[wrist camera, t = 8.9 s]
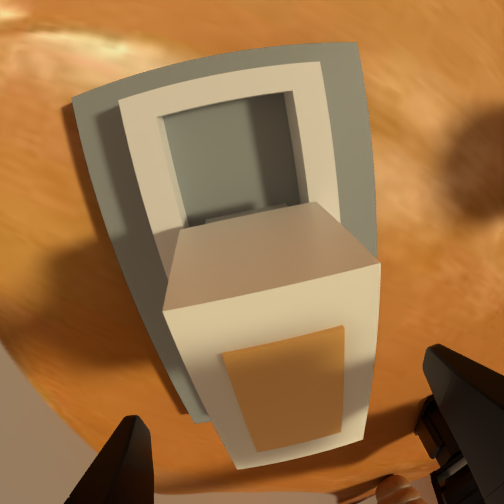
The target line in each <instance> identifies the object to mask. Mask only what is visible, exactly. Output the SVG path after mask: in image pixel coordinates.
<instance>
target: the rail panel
mask: <svg viewBox="0 0 504 504" xmlns="http://www.w3.org/2000/svg"><path fill="white" fill-rule="evenodd" d="M71 99H72V104H73V108H74V113H75V118H76V122H77V127H78V131H79V135H80V140H81V144H82V148H83V152H84V155H85V159H86V163H87V167H88V170H89V174H90V177H91V181H92V184H93V188H94V191H95V194H96V198H97V201H98V204H99V207H100V210H101V214H102V217H103V220H104V223H105V226H106V229H107V231H108V234H109V237H110V240H111V243H112V246H113V248H114V251H115V254H116V257H117V259H118V262H119V265H120V267H121V270H122V272H123V275H124V278H125V280H126V283H127V285H128V288H129V290H130V293H131V295H132V297H133V300H134V302H135V304H136V307H137V309H138V311H139V314H140V316H141V318H142V321H143V323H144V325H145V327H146V330H147V332H148V334H149V336H150V338H151V340H152V343H153V345H154V347H155V349H156V351H157V353H158V355H159V357H160V359H161V361H162V363H163V365H164V367H165V369H166V371H167V373H168V375H169V377H170V379H171V381H172V383H173V385H174V387H175V389H176V391H177V393H178V394H179V396H180V398H181V400H182V402H183V404H184V405H185V407H186V409H187V411H188V413H189V414H190V416H191V418H192V420H193V421H194V423H203V422H210V421H211V419H210V417H209V415H208V413H207V411H206V409H205V407H204V405H203V403H202V401H201V399H200V397H199V395H198V393H197V390H196V388H195V386H194V384H193V382H192V380H191V378H190V375H189V373H188V371H187V369H186V367H185V364H184V362H183V360H182V357H181V355H180V353H179V351H178V348H177V346H176V344H175V341H174V339H173V336H172V334H171V332H170V329H169V327H168V324H167V322H166V319H165V317H164V314H163V312H162V311H163V306H164V301H165V296H166V291H167V286H168V281H169V276H170V272H171V267H172V262H173V258H174V253H175V249H176V245H177V240H178V236H179V232H180V230H181V229H186V228H190V227H195V226H199V225H204V224H205V222H206V219H211V218H215V217H220V216H224V215H229V214H234V213H238V212H243V211H248V210H253V209H258V208H263V207H268V206H272V205H277V204H283V203H286V205H287V206H288V207H289V206H295V205H300V204H305V203H310V202H315V201H317V202H318V203H319V204H320V205H321V206H322V207H323V208H324V209H325V210H326V211H327V212H329V213H330V214H331V215H332V216H333V217H334V218H335V219H336V220H337V221H338V222H339V223H340V224H341V225H342V226H344V227H345V228H346V229H347V230H348V231H349V232H350V233H351V234H352V235H353V236H354V237H355V238H356V239H357V240H358V241H359V242H360V243H361V244H362V245H363V246H364V247H365V248H366V249H367V250H368V251H369V252H370V253H371V254H372V255H373V256H374V257H375V258H376V259H377V222H376V195H375V177H374V163H373V151H372V140H371V131H370V122H369V113H368V106H367V98H366V91H365V85H364V78H363V72H362V66H361V60H360V55H359V50H358V45H357V42H337V43H310V44H295V45H284V46H274V47H265V48H257V49H250V50H243V51H236V52H230V53H224V54H219V55H213V56H208V57H203V58H199V59H194V60H189V61H185V62H181V63H177V64H173V65H169V66H165V67H161V68H157V69H154V70H150V71H147V72H143V73H140V74H137V75H133V76H130V77H127V78H124V79H121V80H118V81H115V82H112V83H109V84H106V85H103V86H101V87H98V88H95V89H93V90H90V91H87V92H85V93H82V94H80V95H77V96H75V97H72V98H71Z"/></svg>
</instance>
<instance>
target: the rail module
mask: <svg viewBox="0 0 504 504" xmlns="http://www.w3.org/2000/svg"><path fill="white" fill-rule="evenodd" d="M380 274H381V263H380V262H379V261H378V260H377V259H376V258H375V257H374V256H373V255H372V254H371V253H370V252H369V251H368V250H367V249H366V248H365V247H364V246H363V245H362V244H361V243H360V242H359V241H358V240H357V239H356V238H355V237H354V236H353V235H352V234H351V233H350V232H349V231H348V230H347V229H346V228H345V227H344V226H342V225H341V224H340V223H339V222H338V221H337V220H336V219H335V218H334V217H333V216H332V215H331V214H330V213H329V212H327V211H326V210H325V209H324V208H323V207H322V206H321V205H320V204H319V203H318V202H317V201H315V202H310V203H305V204H300V205H295V206H289V207H288V206H287V205H286V203H283V204H277V205H272V206H268V207H263V208H258V209H253V210H248V211H243V212H238V213H234V214H229V215H224V216H220V217H215V218H211V219H206V222H205V224H204V225H199V226H195V227H190V228H186V229H181V230H180V232H179V236H178V240H177V245H176V249H175V253H174V258H173V262H172V267H171V272H170V276H169V281H168V286H167V291H166V296H165V301H164V306H163V311H162V312H163V314H164V317H165V319H166V322H167V324H168V327H169V329H170V332H171V334H172V336H173V339H174V341H175V344H176V346H177V348H178V351H179V353H180V355H181V357H182V360H183V362H184V364H185V367H186V369H187V371H188V373H189V375H190V378H191V380H192V382H193V384H194V386H195V388H196V390H197V393H198V395H199V397H200V399H201V401H202V403H203V405H204V407H205V409H206V411H207V413H208V415H209V417H210V419H211V421H212V423H213V425H214V427H215V429H216V431H217V433H218V435H219V437H220V439H221V441H222V442H223V444H224V446H225V448H226V450H227V452H228V454H229V455H230V457H231V459H232V461H233V463H234V464H235V466H236V468H237V470H239V469H245V468H252V467H257V466H263V465H268V464H273V463H278V462H283V461H288V460H292V459H296V458H301V457H305V456H309V455H313V454H316V453H320V452H324V451H327V450H331V449H334V448H338V447H341V446H344V445H348V444H351V443H354V442H357V441H360V440H363V436H364V430H365V425H366V419H367V413H368V406H369V400H370V393H371V386H372V378H373V370H374V361H375V352H376V341H377V329H378V316H379V299H380Z"/></svg>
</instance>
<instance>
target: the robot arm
mask: <svg viewBox="0 0 504 504" xmlns="http://www.w3.org/2000/svg"><path fill="white" fill-rule="evenodd" d="M423 371H424V374H425V376H426V379H427V381H428V383H429V386H430V388H431V390H432V393H433V395H434V396H432V397H430V398H428V399H427V400H426V402H425V404H424V407H423V410H422V412H421V415H420V418H419V420H418V423H417V425H416V428H415V430H414V433H415V435H418V436H419V438H420V440H421V441H422V443H423V445H424V447H425V449H426V451H427V453H428V455H429V456H430V458H432V459H434V458H436V460H437V461H438V463H439V465H440V467H441V468H439V469H438V470H436V471H433V472H432V473H430V476H431V482H432V485H433V488H434V491H435V494H436V498H437V501H438V504H504V376H503V375H501V374H499V373H497V372H495V371H493V370H491V369H489V368H487V367H485V366H483V365H481V364H479V363H477V362H475V361H473V360H471V359H469V358H467V357H465V356H463V355H461V354H459V353H457V352H455V351H453V350H451V349H449V348H447V347H445V346H443V345H441V344H435V345H432V346H430V347H428V348H427V349H426V353H425V357H424V361H423ZM69 496H70V497H69V498H67V500H66V501H65V502H64V504H154V470H153V460H152V448H151V436H150V431H149V429H148V428H147V426H146V425H145V424H144V422H143V421H142V420H141V418H140V417H139V416H137V415H130V416H125V417H124V418H123V420H122V421H121V422H120V424H119V425H118V427H117V428H116V430H115V431H114V432H113V434H112V435H111V437H110V438H109V440H108V441H107V442H106V444H105V445H104V447H103V448H102V450H101V451H100V452H99V454H98V455H97V457H96V458H95V460H94V461H93V462H92V464H91V465H90V467H89V468H88V470H87V471H86V472H85V474H84V475H83V477H82V478H81V480H80V481H79V482H78V484H77V485H76V487H75V488H74V490H73V491H72V493H71V494H70V495H69Z"/></svg>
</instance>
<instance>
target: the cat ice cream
mask: <svg viewBox="0 0 504 504" xmlns="http://www.w3.org/2000/svg"><path fill="white" fill-rule="evenodd" d="M376 499H377V501H378V503H377V504H427V503H426V502H425V501H424V500H423V499H422V498H420V495H419V493H418V491H417V490H416V489H415V488H413V487H411V486H410V484H409V482H408V481H407V479H405V478H404V477H402V476H400V475H392V476H389V477H387V478H385V479H384V480H383V481H382V482H381V483H380V484H379V485H378V487H377V489H376Z"/></svg>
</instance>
